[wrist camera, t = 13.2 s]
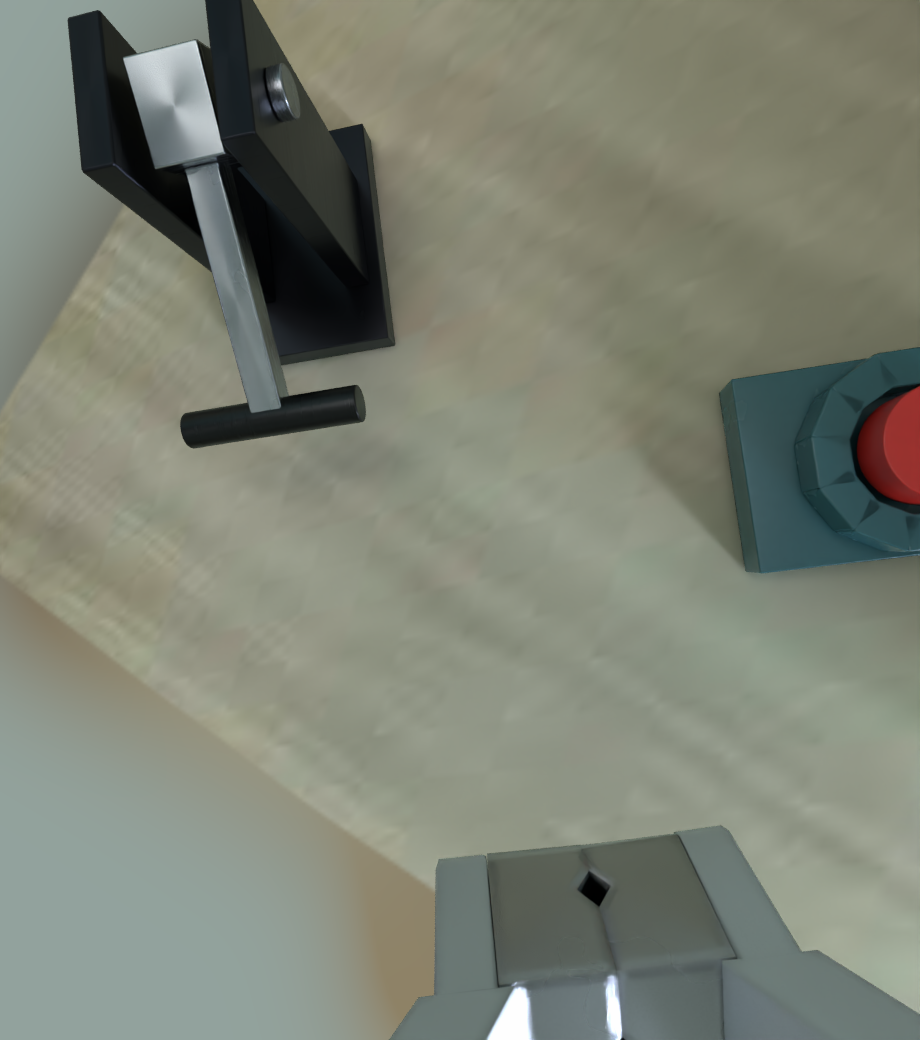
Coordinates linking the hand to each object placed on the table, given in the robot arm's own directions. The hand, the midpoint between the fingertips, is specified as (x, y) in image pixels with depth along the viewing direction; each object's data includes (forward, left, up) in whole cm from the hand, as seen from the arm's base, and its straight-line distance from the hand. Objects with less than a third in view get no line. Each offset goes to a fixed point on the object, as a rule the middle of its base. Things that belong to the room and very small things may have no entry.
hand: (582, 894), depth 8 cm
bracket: (-9, +18, -21) cm, 29 cm away
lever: (-9, +14, -14) cm, 22 cm away
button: (+12, +6, -17) cm, 22 cm away
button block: (+12, +6, -21) cm, 25 cm away
